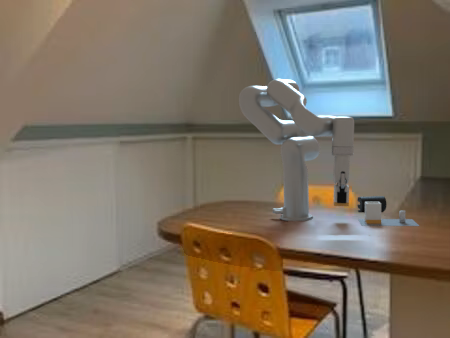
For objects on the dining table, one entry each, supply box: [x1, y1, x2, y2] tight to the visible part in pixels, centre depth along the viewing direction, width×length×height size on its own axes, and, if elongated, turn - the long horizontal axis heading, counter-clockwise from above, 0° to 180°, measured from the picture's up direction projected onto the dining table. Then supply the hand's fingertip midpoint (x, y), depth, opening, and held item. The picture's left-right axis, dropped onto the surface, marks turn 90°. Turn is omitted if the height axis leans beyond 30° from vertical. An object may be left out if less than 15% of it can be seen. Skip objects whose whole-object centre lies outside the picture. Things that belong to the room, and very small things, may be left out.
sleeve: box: [333, 183, 350, 207], centre depth 183 cm, size 5×5×7 cm
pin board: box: [357, 210, 420, 227], centre depth 179 cm, size 19×12×6 cm, turn 81°
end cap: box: [356, 195, 387, 213], centre depth 207 cm, size 10×7×7 cm
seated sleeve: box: [364, 202, 382, 224], centre depth 180 cm, size 5×5×7 cm
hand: (341, 201), depth 184 cm, fingers closed on sleeve, 5 cm apart
